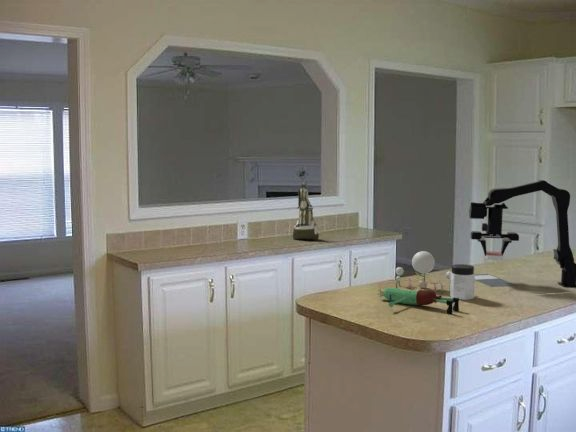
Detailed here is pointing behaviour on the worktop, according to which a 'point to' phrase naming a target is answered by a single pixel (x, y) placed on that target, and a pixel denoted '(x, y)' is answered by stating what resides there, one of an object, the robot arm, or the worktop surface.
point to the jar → (462, 282)
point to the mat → (492, 280)
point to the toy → (417, 298)
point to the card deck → (493, 255)
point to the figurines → (422, 269)
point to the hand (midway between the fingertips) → (493, 256)
